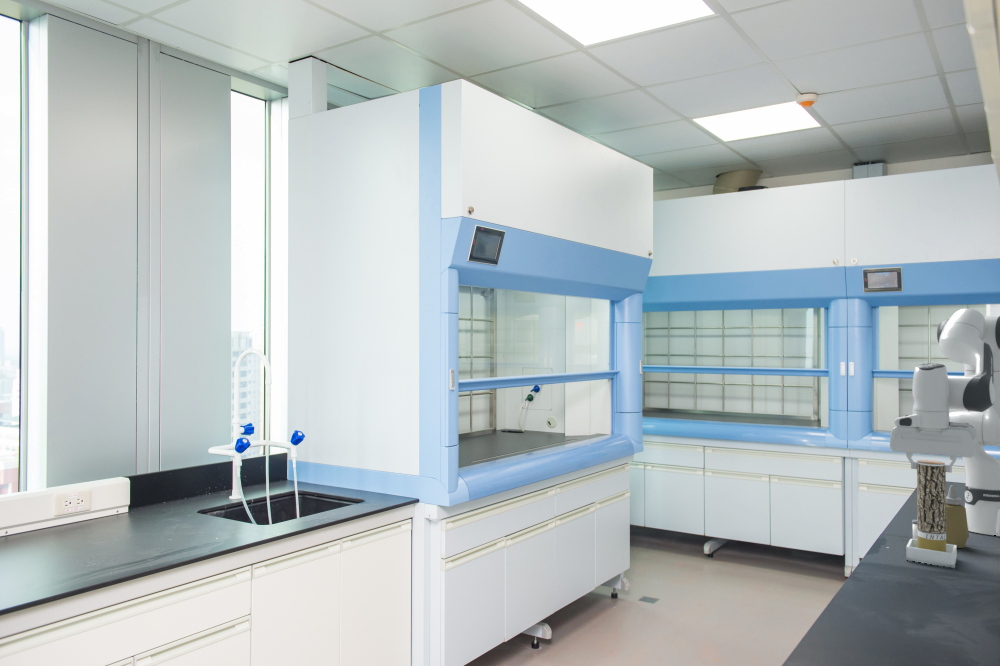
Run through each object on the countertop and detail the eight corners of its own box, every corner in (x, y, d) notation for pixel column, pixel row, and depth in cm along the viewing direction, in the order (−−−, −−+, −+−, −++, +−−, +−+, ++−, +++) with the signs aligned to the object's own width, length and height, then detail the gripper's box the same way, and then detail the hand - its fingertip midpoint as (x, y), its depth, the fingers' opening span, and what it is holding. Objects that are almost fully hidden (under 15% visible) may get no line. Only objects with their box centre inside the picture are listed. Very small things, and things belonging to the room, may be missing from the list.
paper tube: (912, 548, 195) (911, 460, 195) (934, 547, 195) (934, 460, 196) (928, 555, 188) (927, 464, 188) (952, 555, 188) (951, 464, 189)
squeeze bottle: (974, 550, 201) (973, 489, 202) (943, 548, 203) (943, 487, 204) (961, 543, 209) (961, 484, 210) (932, 541, 211) (931, 482, 212)
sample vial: (920, 539, 214) (920, 519, 214) (926, 541, 211) (926, 522, 211) (909, 538, 214) (909, 519, 214) (916, 541, 211) (916, 521, 211)
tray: (910, 551, 199) (910, 538, 199) (956, 558, 192) (956, 545, 192) (906, 560, 190) (906, 546, 190) (954, 568, 183) (954, 554, 183)
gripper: (975, 422, 189) (976, 473, 189) (891, 418, 201) (891, 465, 200) (975, 424, 184) (976, 476, 183) (888, 419, 196) (888, 468, 195)
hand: (931, 470), depth 192 cm, fingers closed on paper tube, 7 cm apart
